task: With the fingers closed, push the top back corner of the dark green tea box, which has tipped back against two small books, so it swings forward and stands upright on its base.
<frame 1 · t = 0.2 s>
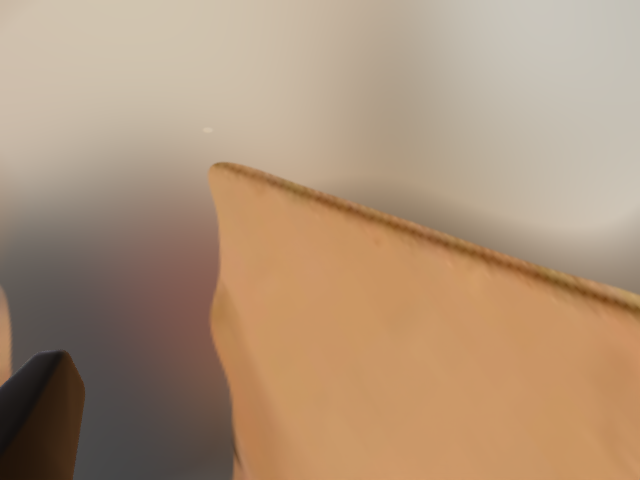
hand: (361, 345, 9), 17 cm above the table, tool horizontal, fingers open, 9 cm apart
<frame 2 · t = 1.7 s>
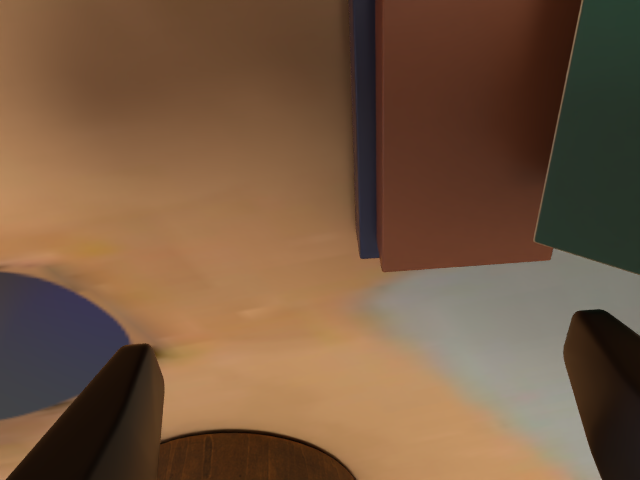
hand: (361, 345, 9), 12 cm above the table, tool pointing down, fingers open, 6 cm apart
tea box: (631, 31, 18), on the table, touching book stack
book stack: (461, 66, 17), on the table
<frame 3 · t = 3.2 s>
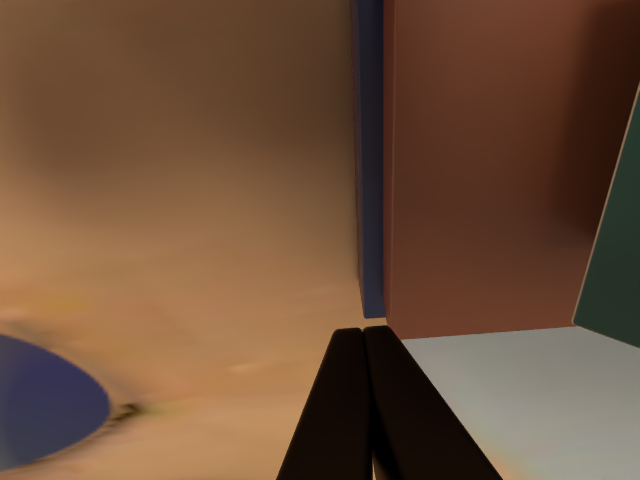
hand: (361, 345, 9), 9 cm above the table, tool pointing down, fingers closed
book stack: (483, 112, 15), on the table
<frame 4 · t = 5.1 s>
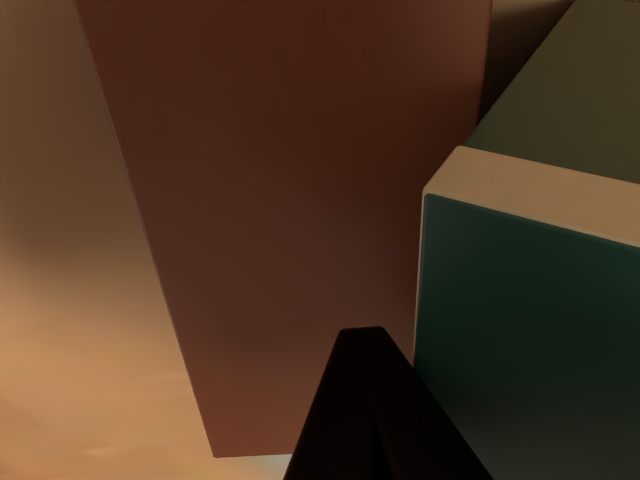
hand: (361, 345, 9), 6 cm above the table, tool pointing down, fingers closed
tea box: (546, 144, 13), on the table, touching gripper
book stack: (293, 206, 12), on the table
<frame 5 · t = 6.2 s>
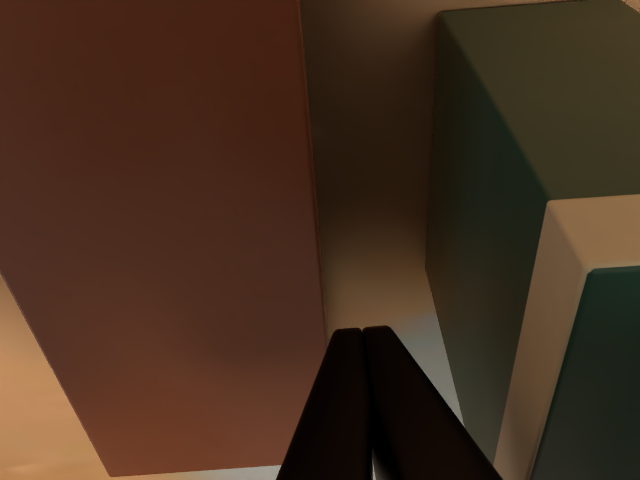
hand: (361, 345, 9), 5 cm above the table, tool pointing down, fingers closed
tea box: (430, 158, 13), on the table, tilted 35°
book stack: (164, 224, 12), on the table
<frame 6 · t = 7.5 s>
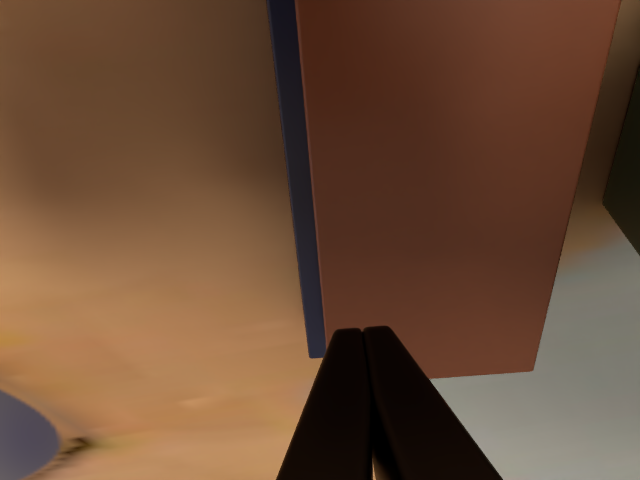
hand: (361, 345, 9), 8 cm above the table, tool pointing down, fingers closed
tea box: (629, 99, 15), on the table, tilted 36°
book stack: (417, 150, 14), on the table
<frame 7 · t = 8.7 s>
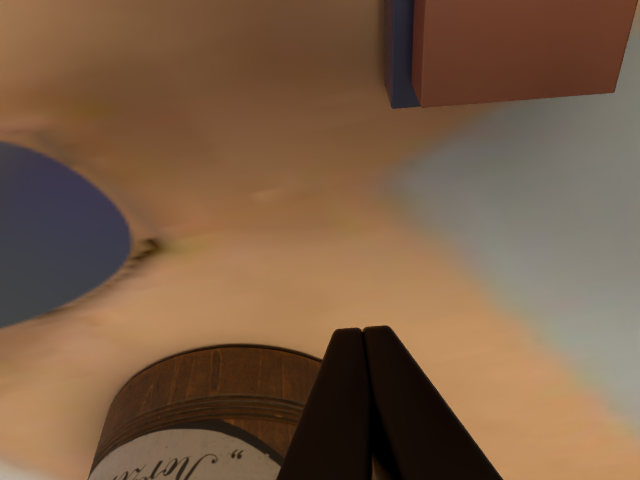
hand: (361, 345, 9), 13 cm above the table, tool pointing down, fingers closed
wooden container: (245, 431, 33), on the table
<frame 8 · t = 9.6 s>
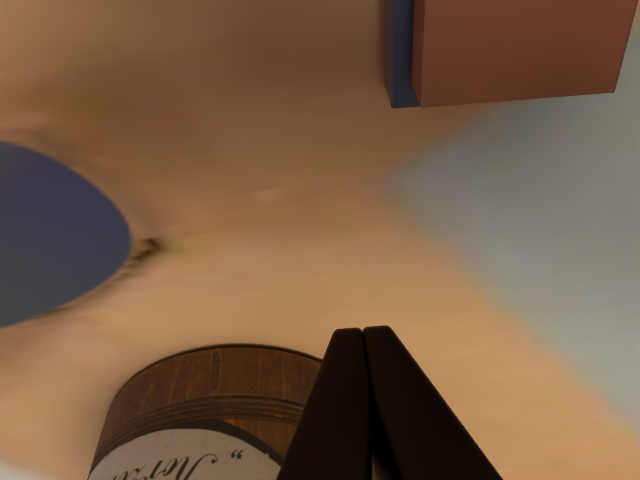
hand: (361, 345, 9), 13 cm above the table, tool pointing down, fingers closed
wooden container: (245, 431, 33), on the table
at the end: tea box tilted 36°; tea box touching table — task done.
